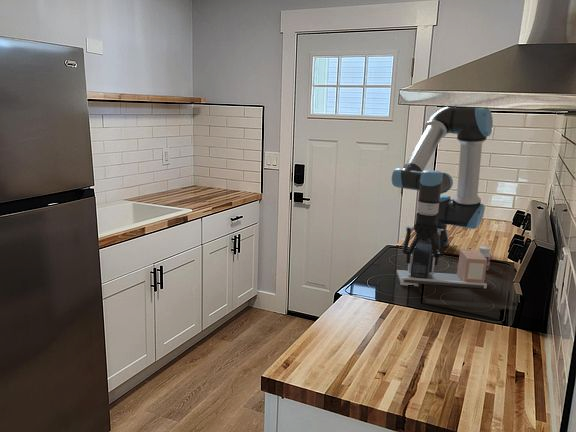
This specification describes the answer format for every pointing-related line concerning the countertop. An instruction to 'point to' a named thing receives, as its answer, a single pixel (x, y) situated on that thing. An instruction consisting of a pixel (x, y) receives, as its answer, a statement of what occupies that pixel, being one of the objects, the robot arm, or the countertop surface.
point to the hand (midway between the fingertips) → (420, 272)
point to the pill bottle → (485, 255)
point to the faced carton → (471, 266)
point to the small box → (421, 261)
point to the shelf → (436, 280)
